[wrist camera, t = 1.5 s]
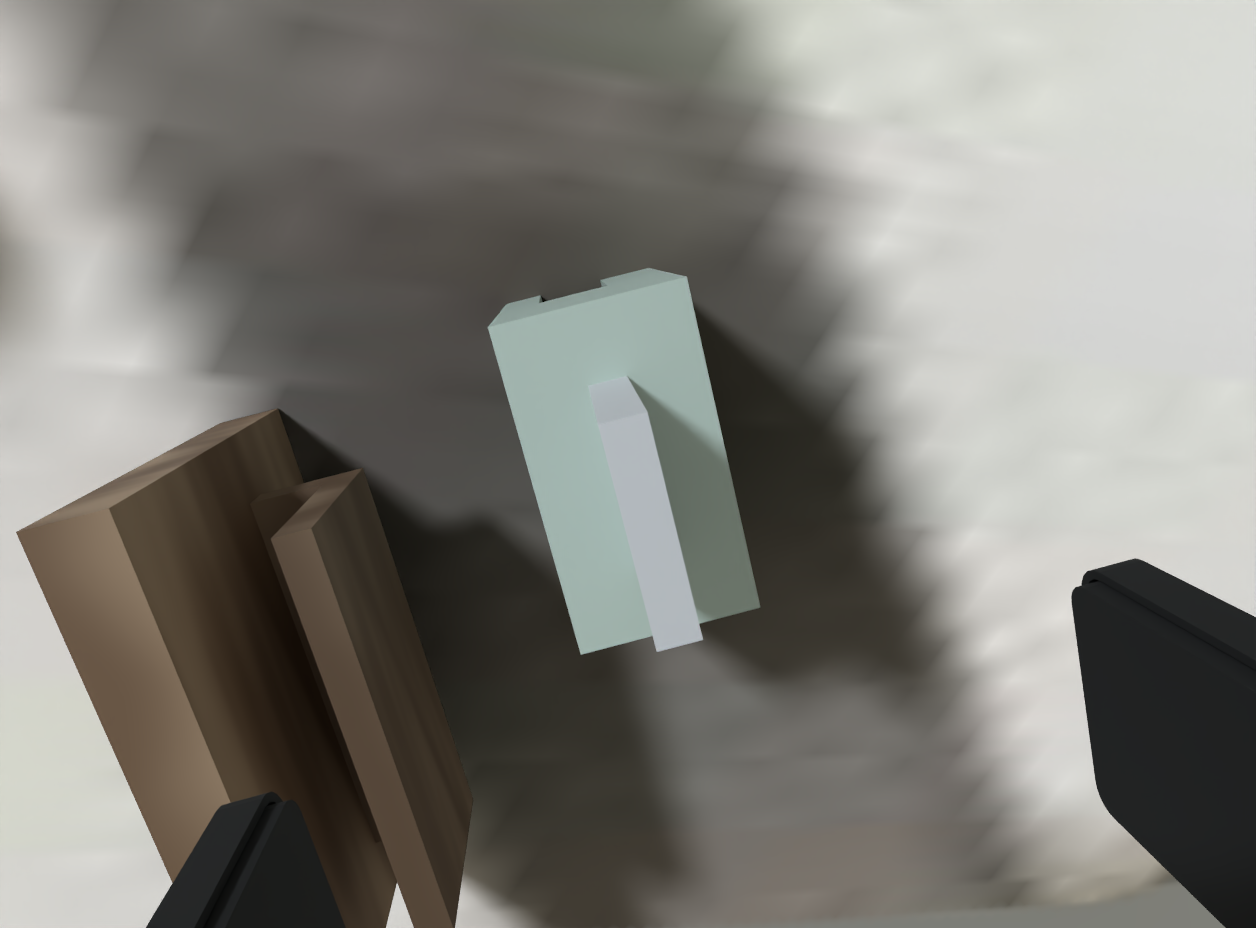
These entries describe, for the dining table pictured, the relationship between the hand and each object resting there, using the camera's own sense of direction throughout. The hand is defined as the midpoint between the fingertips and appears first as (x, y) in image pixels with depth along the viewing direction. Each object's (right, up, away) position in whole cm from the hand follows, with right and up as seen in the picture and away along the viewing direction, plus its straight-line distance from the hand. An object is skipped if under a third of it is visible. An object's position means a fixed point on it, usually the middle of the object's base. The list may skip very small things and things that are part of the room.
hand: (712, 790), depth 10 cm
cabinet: (-2, +6, +21) cm, 22 cm away
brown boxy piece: (-13, -2, +22) cm, 26 cm away
